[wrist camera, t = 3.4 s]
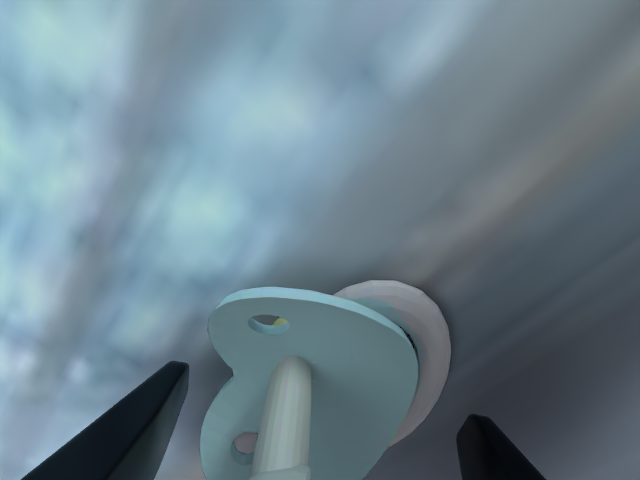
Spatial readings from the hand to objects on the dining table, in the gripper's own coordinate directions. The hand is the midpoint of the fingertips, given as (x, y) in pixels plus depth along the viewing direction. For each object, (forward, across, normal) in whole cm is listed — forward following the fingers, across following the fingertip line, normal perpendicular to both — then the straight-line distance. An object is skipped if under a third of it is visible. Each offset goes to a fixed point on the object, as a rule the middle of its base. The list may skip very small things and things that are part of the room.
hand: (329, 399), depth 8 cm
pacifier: (+1, 0, 0) cm, 1 cm away
